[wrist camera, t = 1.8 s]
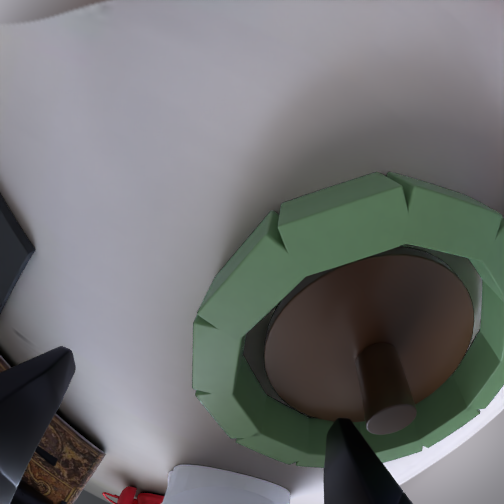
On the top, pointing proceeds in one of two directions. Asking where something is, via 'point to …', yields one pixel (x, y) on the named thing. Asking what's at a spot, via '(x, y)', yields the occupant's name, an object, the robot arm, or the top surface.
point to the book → (61, 461)
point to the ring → (327, 257)
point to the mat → (11, 252)
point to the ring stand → (369, 338)
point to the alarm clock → (126, 500)
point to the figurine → (220, 487)
